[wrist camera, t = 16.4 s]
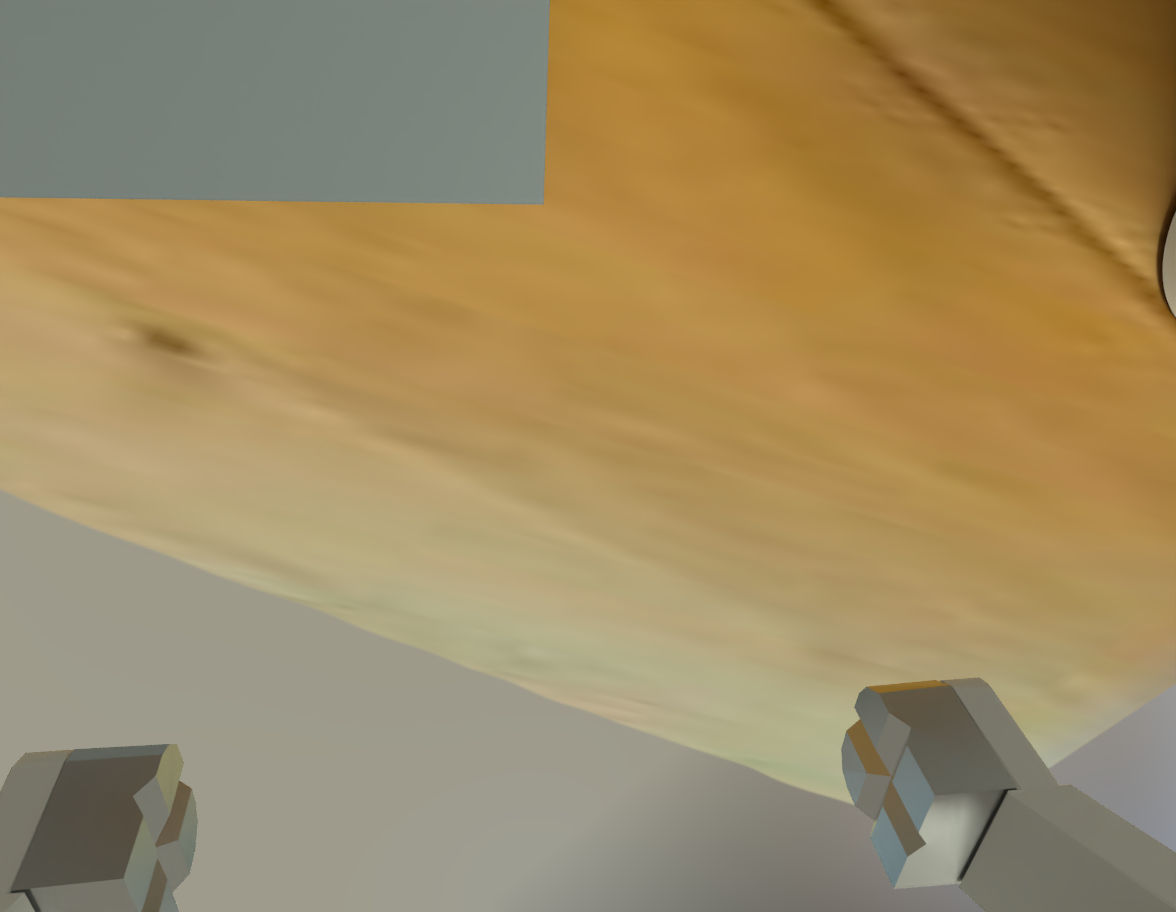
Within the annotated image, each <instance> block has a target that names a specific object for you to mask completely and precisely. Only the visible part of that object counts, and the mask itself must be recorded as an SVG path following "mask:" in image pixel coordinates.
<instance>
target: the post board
mask: <svg viewBox="0 0 1176 912" xmlns="http://www.w3.org/2000/svg"><path fill="white" fill-rule="evenodd" d="M549 7H550V0H0V197H22V198H97V199H171V200H246V201H320V202H395V203H469V204H544V171H545V138H546V105H547V72H548V40H549Z"/></svg>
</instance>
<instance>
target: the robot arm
mask: <svg viewBox="0 0 1176 912" xmlns="http://www.w3.org/2000/svg"><path fill="white" fill-rule="evenodd" d="M1163 284H1164V290H1165V295H1166V298H1167V301H1168V304H1169V306H1170V308H1171V310H1172V312H1173V314H1174V315H1175V317H1176V212H1175V215H1174V217H1173V220H1172V223H1171V226H1170V229H1169V232H1168V236H1167V240H1166V245H1165V250H1164V257H1163ZM855 709H856V711H857V713H858V715H859V717H860V720H859V721H857V722H856V723H855V724H854V725H853V726H852V727H850V728H849V729H848V730H847V731H846V734H845V738H844V742H843V745H842V749H841V750H842V769H843V774H844V777H845V781H846V785H847V788H848V790H849V793H850V795H851V797H852V799H853V802H854V804H855V806H856V807H857V808H859V809H860V810H861V811H862V812H864V813H865V814H866V815H868V816H869V817H870V818H872V819H873V820H874V825H873V829H872V833H871V837H870V839H871V841H872V843H873V846H874V848H875V849H876V852H877V854H878V856H879V858H880V861H881V863H882V865H883V867H884V869H885V871H886V874H887V876H888V878H889V880H890V882H891V884H892V887H893V889H901V888H912V887H923V886H934V885H945V884H957V883H960V885H959V888H960V889H961V890H962V891H964V892H965V893H966V894H967V895H968V896H969V897H970V898H971V899H972V900H973V901H974V902H975V903H976V904H978V906H980V907H981V908H982V909H983V910H984V911H985V912H1176V853H1175V852H1174V851H1172V850H1171V849H1169V848H1168V847H1166V846H1165V845H1163V844H1162V843H1160V842H1158V841H1157V840H1155V839H1154V838H1152V837H1151V836H1149V835H1148V834H1146V833H1145V832H1143V831H1141V830H1140V829H1138V828H1137V827H1135V826H1134V825H1132V824H1130V823H1129V822H1128V821H1126V820H1124V819H1123V818H1121V817H1120V816H1118V815H1117V814H1115V813H1114V812H1112V811H1111V810H1109V809H1107V808H1106V807H1105V806H1103V805H1101V804H1099V803H1098V802H1097V801H1095V800H1093V799H1092V798H1091V797H1089V796H1088V795H1086V794H1084V793H1083V792H1081V791H1080V790H1078V789H1077V788H1075V787H1074V786H1072V785H1059V784H1058V782H1057V781H1056V780H1055V778H1054V777H1053V775H1052V774H1051V772H1050V771H1049V769H1048V768H1047V766H1046V765H1045V764H1044V762H1043V761H1042V759H1041V758H1040V757H1039V755H1038V754H1037V752H1036V751H1035V749H1034V748H1033V747H1032V745H1031V744H1030V742H1029V741H1028V739H1027V738H1026V737H1025V735H1024V734H1023V732H1022V731H1021V729H1020V728H1019V727H1018V725H1017V724H1016V722H1015V721H1014V719H1013V718H1012V717H1011V715H1010V714H1009V712H1008V711H1007V710H1006V708H1005V707H1004V705H1003V704H1002V702H1001V701H1000V700H999V698H998V697H997V695H996V694H995V692H994V691H993V690H992V688H991V687H990V686H989V684H988V683H986V682H985V681H983V680H982V679H981V678H967V679H954V680H942V681H937V680H932V681H922V682H911V683H901V684H890V685H880V686H869V687H866V688H865V689H863V690H862V691H861V692H860V693H859V695H858V698H857V701H856V704H855ZM183 764H184V762H183V759H182V757H181V754H180V751H179V749H178V746H177V745H176V744H164V745H146V746H129V747H111V748H92V749H75V750H62V751H47V752H33V753H25V754H24V755H23V756H22V757H21V758H20V759H19V760H18V762H17V763H16V764H15V765H14V766H13V767H12V768H11V770H10V772H9V774H8V776H7V779H6V780H5V783H4V785H3V787H2V789H1V791H0V912H179V910H178V907H177V904H176V901H175V899H174V896H173V893H172V892H173V891H174V890H175V889H176V888H177V887H178V886H179V885H180V884H181V883H182V882H183V881H184V879H185V878H186V877H187V876H188V875H189V874H190V869H191V866H192V861H193V857H194V852H195V847H196V834H197V822H198V821H197V810H196V802H195V798H194V795H193V791H192V789H191V788H190V787H189V786H187V785H185V784H184V783H182V782H180V781H179V778H180V775H181V771H182V768H183Z"/></svg>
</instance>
